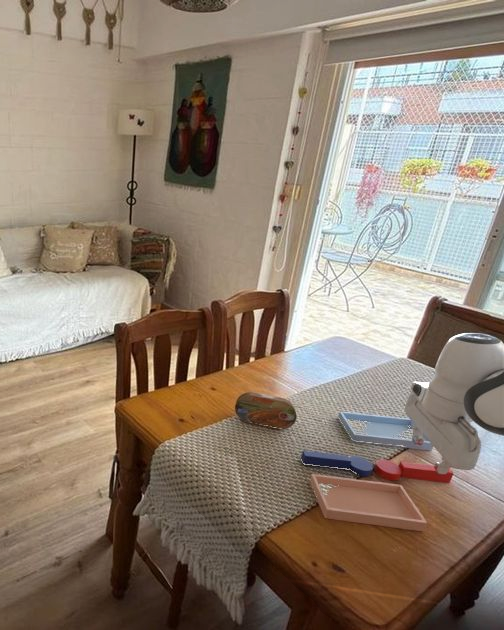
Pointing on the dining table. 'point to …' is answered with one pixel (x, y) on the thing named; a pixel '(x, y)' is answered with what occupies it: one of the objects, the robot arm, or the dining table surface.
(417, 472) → the red spoon
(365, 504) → the pink tray
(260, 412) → the tin
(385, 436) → the blue tray
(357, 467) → the blue spoon
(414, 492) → the dining table surface
